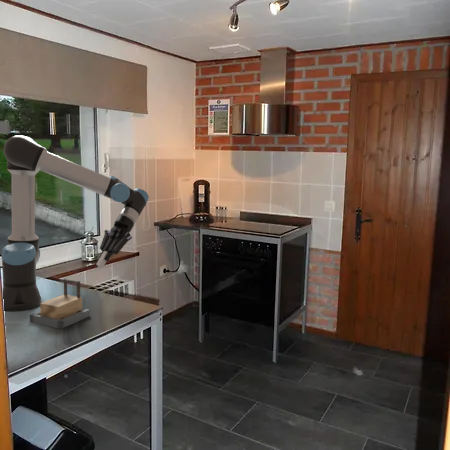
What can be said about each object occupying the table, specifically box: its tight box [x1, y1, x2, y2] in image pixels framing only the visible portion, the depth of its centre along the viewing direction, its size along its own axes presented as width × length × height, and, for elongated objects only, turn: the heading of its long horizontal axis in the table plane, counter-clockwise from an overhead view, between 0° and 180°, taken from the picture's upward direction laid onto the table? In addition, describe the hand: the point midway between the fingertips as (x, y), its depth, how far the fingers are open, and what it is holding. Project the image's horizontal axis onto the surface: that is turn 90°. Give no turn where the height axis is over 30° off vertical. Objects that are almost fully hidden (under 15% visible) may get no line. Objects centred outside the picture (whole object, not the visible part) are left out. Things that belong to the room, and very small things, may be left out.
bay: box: [29, 308, 91, 330], centre depth 163 cm, size 14×14×2 cm
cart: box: [39, 278, 83, 320], centre depth 162 cm, size 9×12×13 cm
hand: (99, 266), depth 179 cm, fingers closed
